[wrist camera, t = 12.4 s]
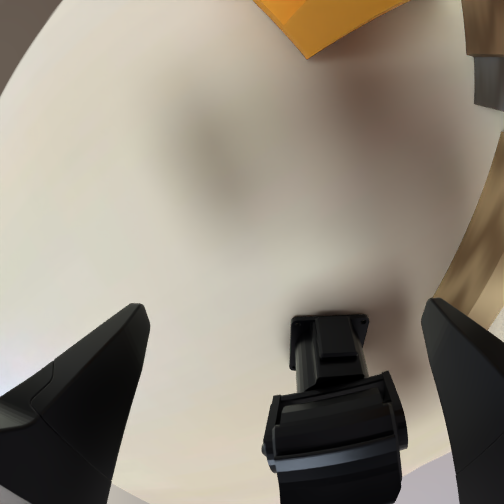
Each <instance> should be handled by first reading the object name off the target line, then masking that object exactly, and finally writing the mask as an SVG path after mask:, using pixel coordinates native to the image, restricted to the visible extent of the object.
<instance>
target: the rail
mask: <svg viewBox="0 0 504 504" xmlns="http://www.w3.org/2000/svg"><path fill="white" fill-rule="evenodd" d="M438 297H439V298H442V299H443V300H445V301H446V302H448V303H449V304H451V305H452V306H454V307H455V308H456V309H458V310H459V311H461V312H462V313H464V314H465V315H466V316H468V317H469V318H471V319H472V320H474V321H475V322H476V323H478V324H479V325H481V326H482V327H483V328H485V329H486V330H488V329H489V327H490V326H491V324H492V323H493V321H494V320H495V318H496V317H497V315H498V314H499V312H500V311H501V309H502V308H503V306H504V132H502V131H501V135H500V139H499V142H498V146H497V149H496V152H495V156H494V159H493V162H492V165H491V168H490V171H489V174H488V177H487V180H486V183H485V186H484V188H483V191H482V194H481V196H480V199H479V202H478V204H477V207H476V209H475V212H474V214H473V217H472V219H471V221H470V224H469V226H468V228H467V231H466V233H465V235H464V237H463V239H462V242H461V244H460V246H459V248H458V250H457V252H456V254H455V256H454V258H453V260H452V262H451V264H450V266H449V268H448V270H447V272H446V274H445V276H444V278H443V280H442V282H441V284H440V285H439V287H438V289H437V291H436V293H435V294H434V296H433V298H438Z"/></svg>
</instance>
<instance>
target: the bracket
mask: <svg viewBox="0 0 504 504" xmlns="http://www.w3.org/2000/svg"><path fill="white" fill-rule="evenodd" d="M253 1H254V2H255V3H256V4H257V5H258V6H259V7H260V8H261V9H262V10H263V11H264V12H265V13H266V14H267V15H268V16H269V17H270V18H271V19H272V20H273V22H274V23H275V24H276V25H277V26H278V27H279V28H280V29H281V30H282V31H283V32H284V33H285V35H286V36H287V37H288V38H289V39H290V40H291V41H292V42H293V44H294V45H295V46H296V47H297V48H298V49H299V50H300V52H301V53H302V54H303V55H304V56H305V58H306V59H309V58H310V57H312V56H313V55H315V54H316V53H318V52H319V51H321V50H323V49H324V48H326V47H327V46H329V45H330V44H332V43H334V42H335V41H337V40H339V39H340V38H342V37H344V36H345V35H347V34H349V33H350V32H352V31H354V30H356V29H357V28H359V27H361V26H363V25H364V24H366V23H368V22H370V21H372V20H373V19H375V18H377V17H379V16H381V15H383V14H385V13H386V12H388V11H390V10H392V9H394V8H396V7H398V6H400V5H402V4H404V3H406V2H408V1H410V0H253Z"/></svg>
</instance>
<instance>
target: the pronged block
mask: <svg viewBox="0 0 504 504" xmlns="http://www.w3.org/2000/svg"><path fill="white" fill-rule="evenodd" d="M462 7H463V15H464V24H465V35H466V51H467V55H470V56H473V57H474V63H475V100H474V104H476V105H480V106H484V107H488V108H492V109H496V110H500V111H504V0H462Z"/></svg>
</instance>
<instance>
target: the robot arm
mask: <svg viewBox="0 0 504 504" xmlns="http://www.w3.org/2000/svg"><path fill="white" fill-rule="evenodd" d="M362 320H364V321H362ZM295 323H299V324H295ZM368 324H369V318H368V316H367V315H364V314H362V315H342V316H317V317H295V318H293V319H292V320H291V336H290V361H289V368H290V369H291V370H294V371H296V380H297V393H294V394H288V395H282V396H281V395H275V396H273V401H272V404H271V406H270V411H269V416H268V420H267V425H266V430H265V435H264V439H263V445H262V453H263V454H264V455H265V456H266V457H267V461H268V464H269V467H270V469H271V471H272V472H273V473H277V477H278V482H279V490H280V504H393V503H395V501H396V499H397V497H398V494H399V492H400V490H401V481H402V470H401V460H400V450H403V449H407V447H408V433H407V426H406V420H405V415H404V411H403V408H402V404H401V402H400V399H399V396H398V394H397V391H396V388H395V386H394V383H393V380H392V378H391V375H390V373H389V371H385V372H382V374H379V375H375V376H371V377H369V375H368V370H367V366H366V362H365V358H364V354H363V350H362V348H363V344H364V340H365V336H366V332H367V328H368ZM421 325H422V329H423V334H424V338H425V343H426V348H427V353H428V358H429V362H430V366H431V370H432V373H433V377H434V380H435V383H436V387H437V391H438V394H439V398H440V402H441V406H442V410H443V414H444V418H445V422H446V426H447V431H448V435H449V440H450V445H451V450H452V455H453V461H454V466H455V472H456V480H457V487H458V494H459V502H460V504H504V342H502V341H501V340H500V339H498V338H497V337H496V336H494V335H493V334H492V333H490V332H489V331H487V330H486V329H485V328H483V327H482V326H481V325H479V324H478V323H476V322H475V321H474V320H472V319H471V318H469V317H468V316H466V315H465V314H464V313H462V312H461V311H459V310H458V309H456V308H455V307H454V306H452V305H451V304H449V303H448V302H446V301H445V300H443V299H442V298H439V297H438V298H430V299H429V300H428V301H427V303H426V306H425V309H424V312H423V315H422V319H421ZM149 333H150V322H149V319H148V316H147V313H146V310H145V307H144V305H143V304H140V303H131V304H129V305H127V306H126V307H125V308H123V309H122V310H121V311H119V312H118V313H116V314H115V315H114V316H112V317H111V318H110V319H108V320H107V321H105V322H104V323H103V324H101V325H100V326H99V327H97V328H96V329H95V330H93V331H92V332H91V333H89V334H88V335H86V336H85V337H84V338H82V339H81V340H80V341H78V342H77V343H76V344H74V345H73V346H72V347H70V348H69V349H68V350H66V351H65V352H64V353H62V354H61V355H60V356H58V357H57V358H56V359H54V361H52V362H50V363H49V364H48V365H46V366H45V367H44V368H42V369H41V370H40V371H38V372H37V373H36V374H34V375H33V376H31V377H30V378H28V379H27V380H25V381H24V382H22V383H21V384H19V385H18V386H16V387H15V388H13V389H11V390H10V391H8V392H7V393H5V394H4V395H2V396H1V397H0V504H107V500H108V495H109V491H110V487H111V482H112V481H111V480H112V477H113V473H114V469H115V465H116V461H117V457H118V453H119V449H120V445H121V441H122V438H123V434H124V430H125V426H126V423H127V419H128V416H129V412H130V409H131V405H132V402H133V398H134V395H135V392H136V388H137V385H138V382H139V378H140V375H141V371H142V368H143V363H144V358H145V352H146V347H147V342H148V337H149Z"/></svg>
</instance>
